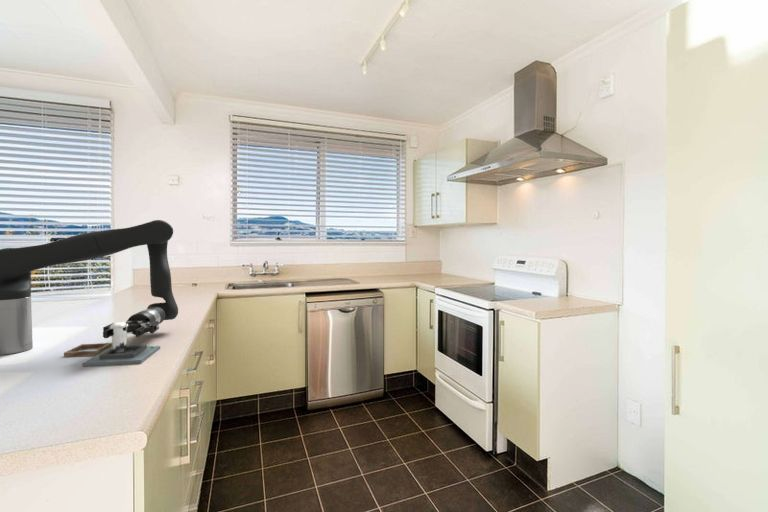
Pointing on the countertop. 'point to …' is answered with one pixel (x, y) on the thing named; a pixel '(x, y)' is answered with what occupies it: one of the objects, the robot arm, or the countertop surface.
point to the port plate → (123, 356)
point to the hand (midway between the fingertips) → (121, 334)
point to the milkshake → (119, 336)
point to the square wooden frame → (77, 351)
